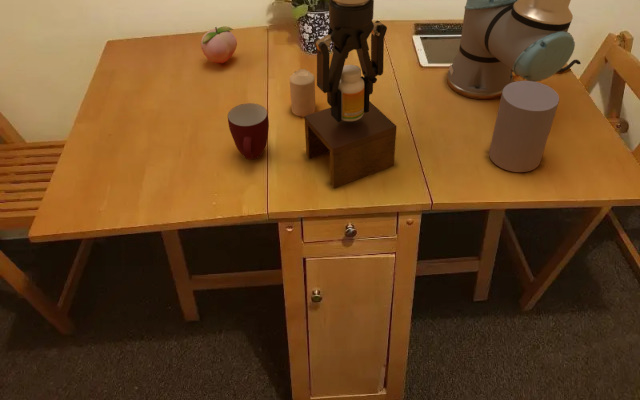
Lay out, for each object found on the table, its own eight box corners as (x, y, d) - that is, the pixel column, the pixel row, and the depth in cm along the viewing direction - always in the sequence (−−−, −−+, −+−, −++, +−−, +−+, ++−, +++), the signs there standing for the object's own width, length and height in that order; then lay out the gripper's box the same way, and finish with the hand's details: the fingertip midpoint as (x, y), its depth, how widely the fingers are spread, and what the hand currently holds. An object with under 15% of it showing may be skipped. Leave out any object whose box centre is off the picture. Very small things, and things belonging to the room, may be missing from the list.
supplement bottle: (369, 113, 113) (371, 69, 106) (351, 125, 110) (351, 81, 103) (348, 102, 115) (348, 59, 109) (330, 114, 113) (329, 70, 106)
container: (484, 141, 124) (497, 80, 113) (533, 141, 123) (551, 80, 113) (493, 173, 116) (508, 111, 106) (545, 173, 116) (565, 111, 106)
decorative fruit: (221, 50, 155) (215, 15, 148) (244, 59, 152) (239, 23, 145) (196, 66, 150) (189, 30, 143) (219, 75, 146) (213, 38, 139)
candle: (312, 118, 132) (311, 79, 125) (289, 115, 133) (286, 77, 126) (317, 104, 136) (316, 66, 129) (294, 102, 137) (292, 64, 130)
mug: (274, 171, 119) (270, 131, 112) (234, 175, 118) (227, 136, 111) (270, 139, 126) (266, 101, 119) (233, 143, 126) (226, 105, 119)
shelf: (363, 135, 127) (364, 96, 120) (393, 165, 119) (396, 126, 112) (306, 155, 122) (304, 115, 115) (333, 188, 114) (333, 148, 107)
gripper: (385, -23, 102) (380, 90, 118) (291, 1, 96) (298, 117, 112) (410, -7, 97) (400, 109, 113) (312, 19, 91) (317, 138, 107)
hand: (350, 113), depth 112 cm, fingers closed on supplement bottle, 5 cm apart
